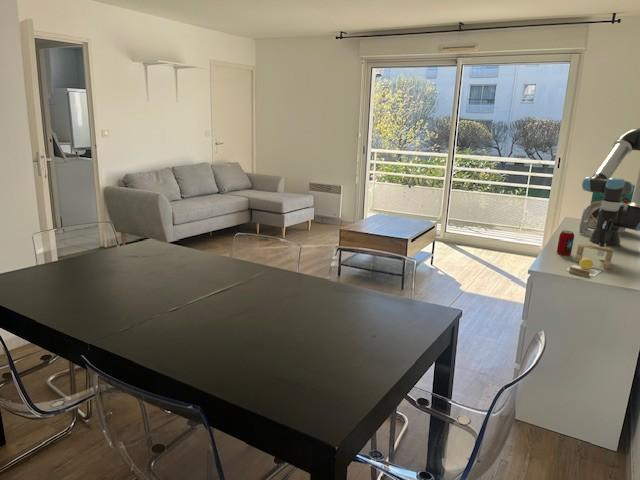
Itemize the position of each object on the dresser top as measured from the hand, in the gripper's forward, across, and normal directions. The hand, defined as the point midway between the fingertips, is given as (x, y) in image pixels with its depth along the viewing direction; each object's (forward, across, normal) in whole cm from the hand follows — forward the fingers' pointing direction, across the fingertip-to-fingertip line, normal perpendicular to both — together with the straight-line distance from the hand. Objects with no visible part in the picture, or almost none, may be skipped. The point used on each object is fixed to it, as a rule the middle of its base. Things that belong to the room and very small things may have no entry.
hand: (600, 255), depth 245 cm
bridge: (+2, +14, 0) cm, 15 cm away
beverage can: (+2, +6, -16) cm, 17 cm away
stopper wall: (+2, +36, 0) cm, 37 cm away
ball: (-1, +26, 0) cm, 26 cm away
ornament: (+2, -61, -17) cm, 64 cm away
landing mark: (+2, +29, 0) cm, 29 cm away
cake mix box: (+2, -83, -16) cm, 85 cm away
